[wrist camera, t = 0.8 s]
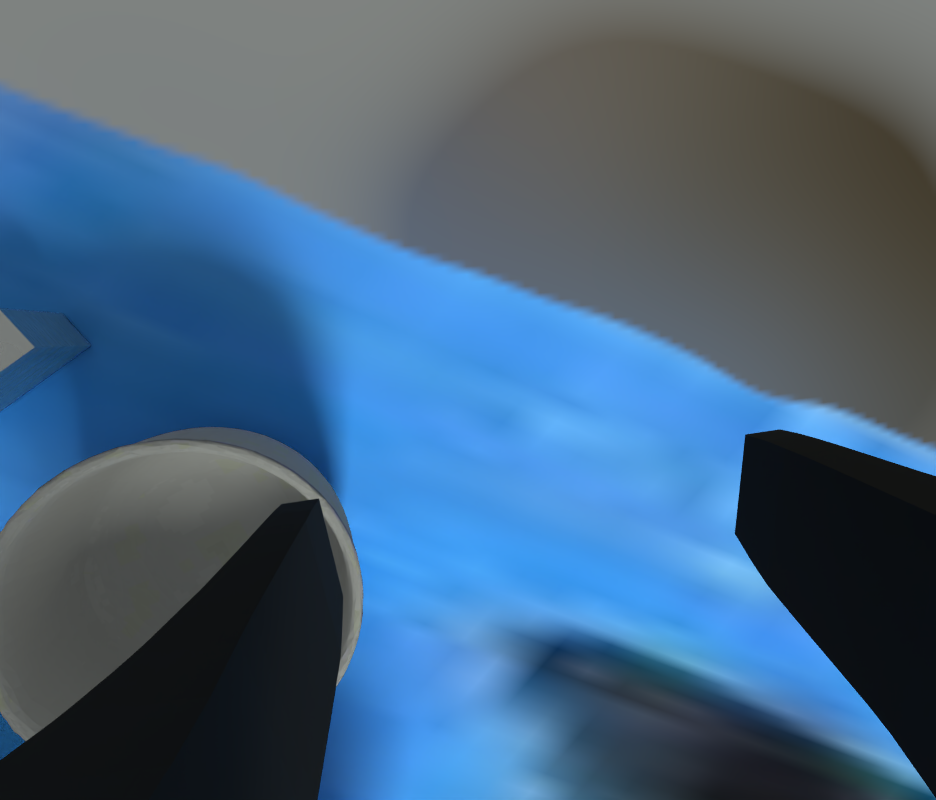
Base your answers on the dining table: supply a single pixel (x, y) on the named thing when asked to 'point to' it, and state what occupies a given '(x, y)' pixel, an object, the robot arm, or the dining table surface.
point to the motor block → (33, 349)
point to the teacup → (140, 556)
